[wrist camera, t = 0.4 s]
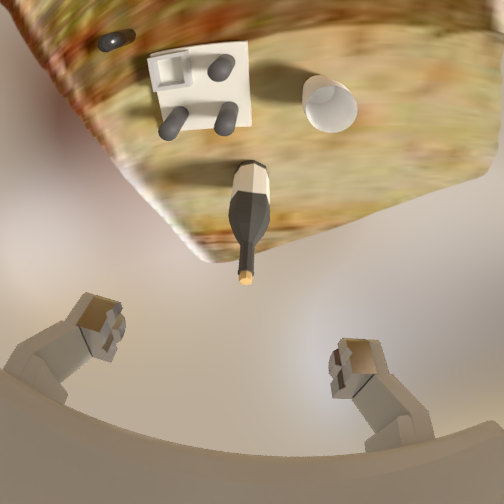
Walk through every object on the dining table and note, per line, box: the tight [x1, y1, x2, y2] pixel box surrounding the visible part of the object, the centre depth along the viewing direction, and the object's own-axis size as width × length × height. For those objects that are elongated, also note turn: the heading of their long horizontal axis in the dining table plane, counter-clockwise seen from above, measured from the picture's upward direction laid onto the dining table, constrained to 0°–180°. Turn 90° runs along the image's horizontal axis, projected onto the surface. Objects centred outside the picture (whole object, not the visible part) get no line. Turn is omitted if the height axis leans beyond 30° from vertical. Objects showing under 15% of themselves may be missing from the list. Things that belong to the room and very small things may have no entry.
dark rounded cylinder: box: [98, 29, 136, 52], centre depth 33 cm, size 4×4×9 cm
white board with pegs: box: [147, 40, 252, 141], centre depth 43 cm, size 18×18×12 cm
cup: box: [302, 75, 358, 133], centre depth 42 cm, size 9×9×12 cm
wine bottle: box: [228, 160, 270, 285], centre depth 54 cm, size 8×8×30 cm
